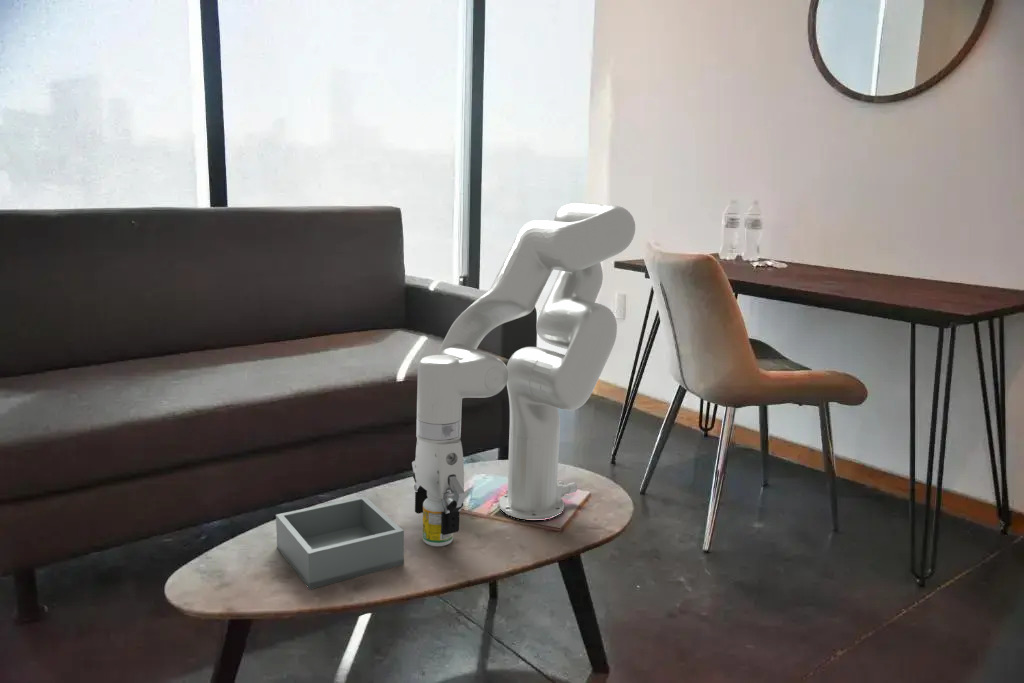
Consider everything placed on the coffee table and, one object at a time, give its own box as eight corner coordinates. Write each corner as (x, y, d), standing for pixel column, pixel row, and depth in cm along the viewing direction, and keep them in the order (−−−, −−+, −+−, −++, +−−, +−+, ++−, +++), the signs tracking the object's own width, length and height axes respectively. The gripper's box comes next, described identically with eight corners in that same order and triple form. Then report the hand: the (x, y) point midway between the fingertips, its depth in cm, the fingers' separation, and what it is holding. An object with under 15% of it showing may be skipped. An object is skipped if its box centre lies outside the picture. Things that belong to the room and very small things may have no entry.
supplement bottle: (449, 548, 139) (450, 496, 137) (419, 545, 140) (419, 493, 138) (455, 534, 144) (456, 484, 142) (426, 532, 145) (427, 481, 143)
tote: (365, 527, 146) (364, 495, 145) (403, 564, 133) (403, 530, 132) (277, 547, 138) (275, 514, 136) (309, 589, 125) (308, 553, 123)
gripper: (483, 440, 133) (480, 537, 136) (434, 412, 147) (432, 500, 150) (443, 446, 129) (440, 546, 132) (396, 417, 143) (395, 508, 146)
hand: (436, 522), depth 141 cm, fingers open, 9 cm apart
